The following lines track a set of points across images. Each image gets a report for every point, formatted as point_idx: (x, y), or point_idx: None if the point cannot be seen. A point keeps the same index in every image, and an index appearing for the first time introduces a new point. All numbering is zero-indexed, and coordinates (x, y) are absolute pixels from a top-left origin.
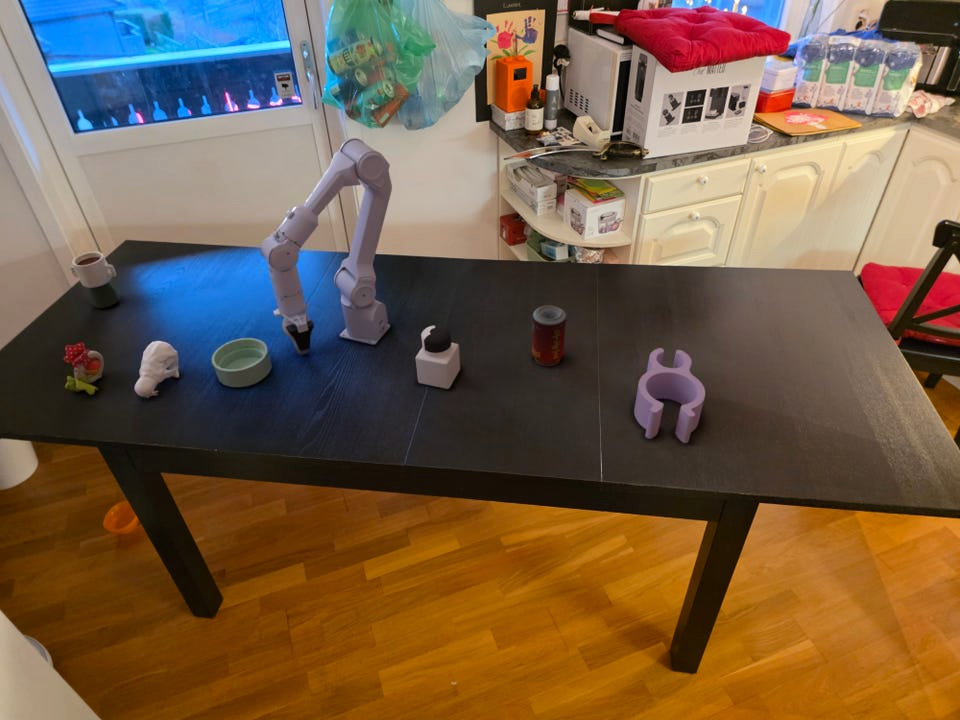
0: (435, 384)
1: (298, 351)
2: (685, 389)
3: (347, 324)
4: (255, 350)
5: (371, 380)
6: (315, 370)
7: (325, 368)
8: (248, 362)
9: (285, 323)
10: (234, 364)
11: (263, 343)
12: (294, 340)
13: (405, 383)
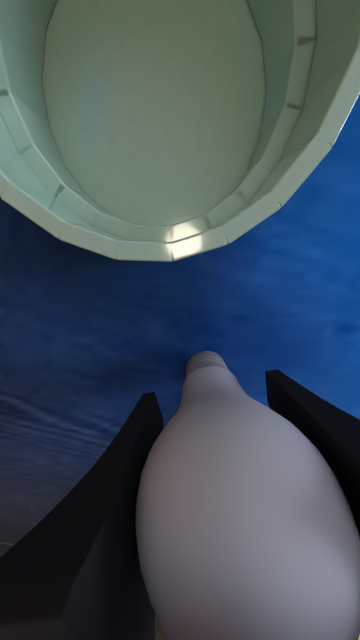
0: None
1: (193, 361)
2: None
3: None
4: (248, 174)
5: (45, 483)
6: (107, 384)
7: (111, 408)
8: (211, 134)
9: (203, 547)
10: (222, 34)
11: (223, 236)
12: (181, 405)
13: (30, 524)
